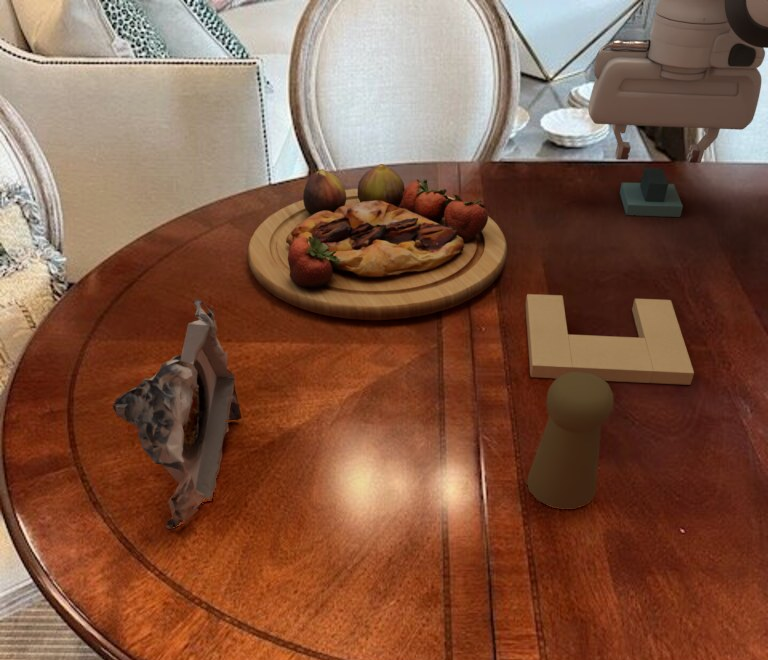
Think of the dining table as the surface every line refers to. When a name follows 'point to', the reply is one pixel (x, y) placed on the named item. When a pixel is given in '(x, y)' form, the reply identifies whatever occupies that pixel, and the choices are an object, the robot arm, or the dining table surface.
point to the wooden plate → (377, 248)
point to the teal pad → (650, 207)
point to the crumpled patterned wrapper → (186, 415)
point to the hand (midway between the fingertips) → (657, 159)
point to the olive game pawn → (571, 441)
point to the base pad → (608, 345)
